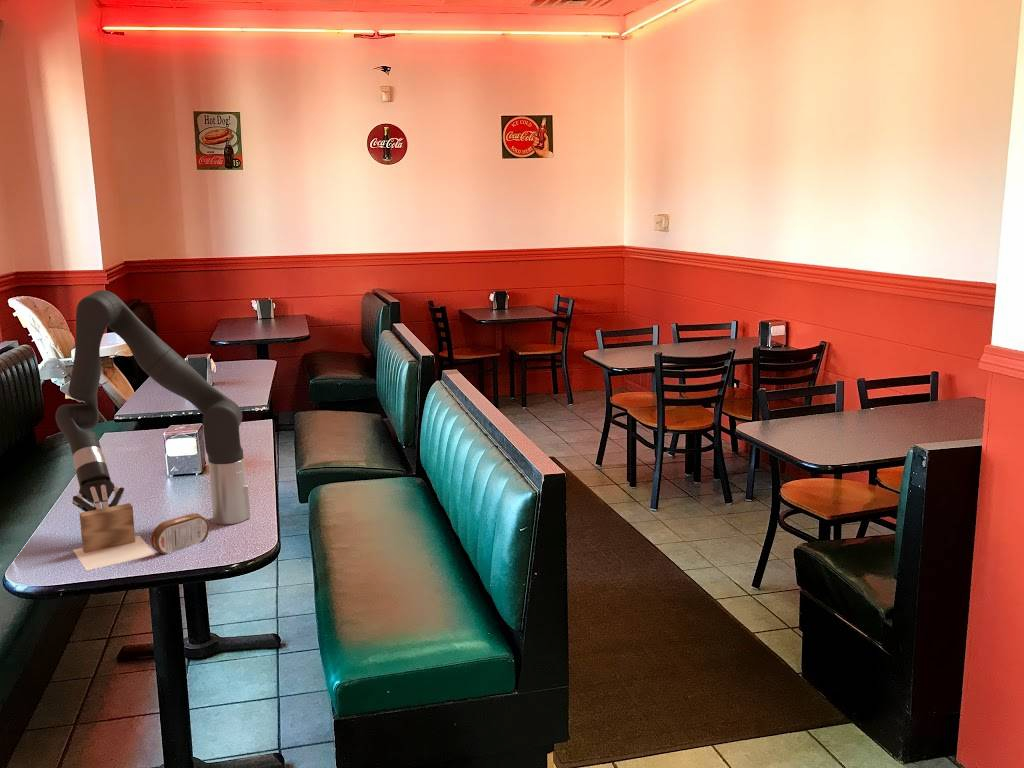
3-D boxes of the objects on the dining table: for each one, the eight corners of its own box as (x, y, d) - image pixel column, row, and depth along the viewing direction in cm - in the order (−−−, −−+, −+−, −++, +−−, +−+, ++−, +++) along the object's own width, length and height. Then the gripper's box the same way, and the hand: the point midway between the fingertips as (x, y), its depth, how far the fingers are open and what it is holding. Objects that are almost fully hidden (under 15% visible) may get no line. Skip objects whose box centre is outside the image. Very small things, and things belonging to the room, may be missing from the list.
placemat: (139, 537, 235) (139, 535, 234) (155, 556, 222) (155, 554, 222) (73, 551, 225) (72, 549, 225) (86, 572, 213) (86, 570, 213)
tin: (205, 539, 233) (202, 508, 232) (212, 542, 231) (209, 511, 230) (151, 557, 222) (148, 525, 220) (158, 560, 220) (155, 528, 218)
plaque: (132, 537, 232) (129, 502, 229) (135, 542, 230) (132, 506, 227) (82, 548, 225) (79, 512, 222) (84, 553, 223) (81, 516, 220)
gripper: (64, 465, 228) (79, 524, 221) (119, 456, 236) (135, 512, 229) (62, 479, 234) (77, 537, 226) (116, 470, 241) (132, 526, 234)
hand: (106, 525), depth 228 cm, fingers closed
